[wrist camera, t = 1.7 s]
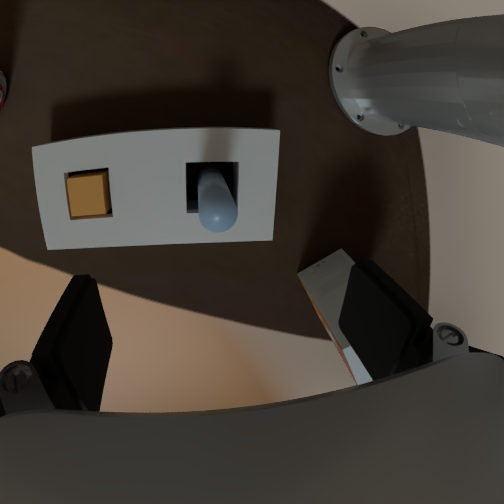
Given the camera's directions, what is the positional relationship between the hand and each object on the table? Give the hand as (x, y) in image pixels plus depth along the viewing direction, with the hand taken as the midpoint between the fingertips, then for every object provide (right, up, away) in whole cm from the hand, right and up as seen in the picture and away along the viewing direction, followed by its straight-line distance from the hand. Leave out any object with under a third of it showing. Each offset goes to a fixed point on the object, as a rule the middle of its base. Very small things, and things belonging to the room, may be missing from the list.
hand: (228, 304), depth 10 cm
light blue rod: (-3, +9, +17) cm, 20 cm away
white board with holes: (-9, +9, +16) cm, 20 cm away
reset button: (-14, +7, +13) cm, 20 cm away
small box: (+10, -2, +26) cm, 28 cm away
